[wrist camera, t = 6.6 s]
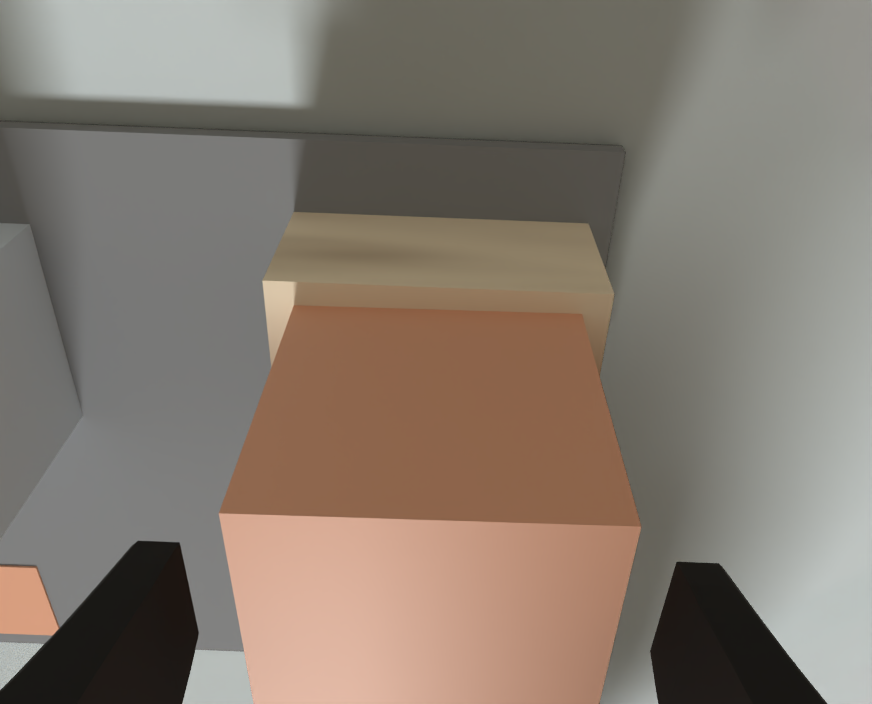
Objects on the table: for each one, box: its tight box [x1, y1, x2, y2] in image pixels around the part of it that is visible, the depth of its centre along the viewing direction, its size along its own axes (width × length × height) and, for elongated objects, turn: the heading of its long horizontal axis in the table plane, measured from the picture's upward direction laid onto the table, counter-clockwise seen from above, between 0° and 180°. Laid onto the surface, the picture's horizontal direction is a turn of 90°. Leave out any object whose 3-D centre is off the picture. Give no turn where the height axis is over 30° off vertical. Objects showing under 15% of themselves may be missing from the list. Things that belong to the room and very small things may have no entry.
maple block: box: [262, 212, 614, 376], centre depth 16 cm, size 6×6×3 cm
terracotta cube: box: [219, 305, 641, 704], centre depth 12 cm, size 5×5×5 cm
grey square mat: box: [0, 121, 626, 651], centre depth 19 cm, size 16×18×1 cm
